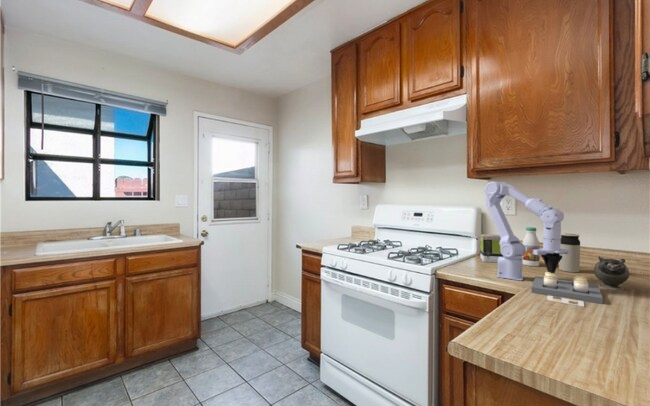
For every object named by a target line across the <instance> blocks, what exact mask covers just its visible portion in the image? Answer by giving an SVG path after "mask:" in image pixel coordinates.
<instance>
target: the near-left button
mask: <svg viewBox="0 0 650 406" xmlns="http://www.w3.org/2000/svg"><path fill="white" fill-rule="evenodd" d="M543 277H544V286H546V287H552V288H555V287H557V279H558V278H557V279H556V277H552V276H545V275H544V276H543Z"/></svg>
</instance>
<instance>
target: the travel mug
mask: <svg viewBox="0 0 650 406" xmlns="http://www.w3.org/2000/svg"><path fill="white" fill-rule="evenodd" d="M579 238H580V234H577V233H566V232H565V233H562V232H561V249H568V250H570V254H559V255H561V256H562V259H561V260H560V261H559V263H558V270H560V271H562V272H567V273H578V272H580V269H581V268H580V266H581V265H580V263H581V240H580V239H579Z"/></svg>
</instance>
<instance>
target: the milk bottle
mask: <svg viewBox="0 0 650 406" xmlns="http://www.w3.org/2000/svg"><path fill="white" fill-rule="evenodd" d="M525 233H526V234H525V236H524V238H523V239H522V242H521V243H522V244H523V245H524V246H525V249H526V251H525V254H524V255H522V266H523V265H524V266H528V267H540V256H541V255H535V254H533V250H535V249H541V248H540V241H539V239H538V236H537V228H536V227H529V226H528V227H525Z"/></svg>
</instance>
